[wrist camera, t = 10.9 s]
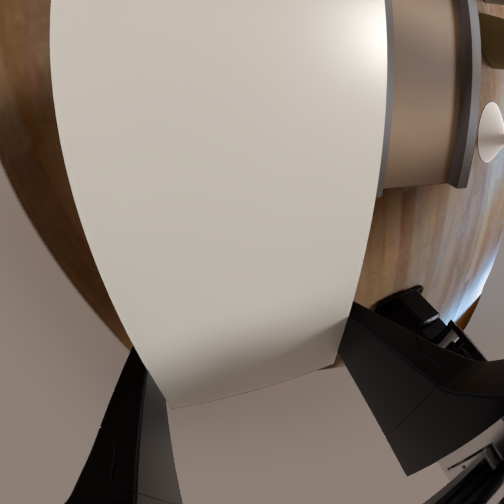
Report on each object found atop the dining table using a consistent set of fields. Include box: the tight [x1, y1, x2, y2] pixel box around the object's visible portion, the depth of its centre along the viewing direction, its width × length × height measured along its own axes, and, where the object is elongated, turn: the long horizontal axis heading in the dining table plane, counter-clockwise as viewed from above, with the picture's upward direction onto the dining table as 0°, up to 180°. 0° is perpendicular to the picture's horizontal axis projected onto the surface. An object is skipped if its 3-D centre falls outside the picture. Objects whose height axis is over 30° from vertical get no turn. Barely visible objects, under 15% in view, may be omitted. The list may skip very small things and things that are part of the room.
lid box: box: [376, 0, 481, 198], centre depth 10 cm, size 13×11×5 cm
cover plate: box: [50, 0, 387, 409], centre depth 6 cm, size 13×6×2 cm, turn 2°
